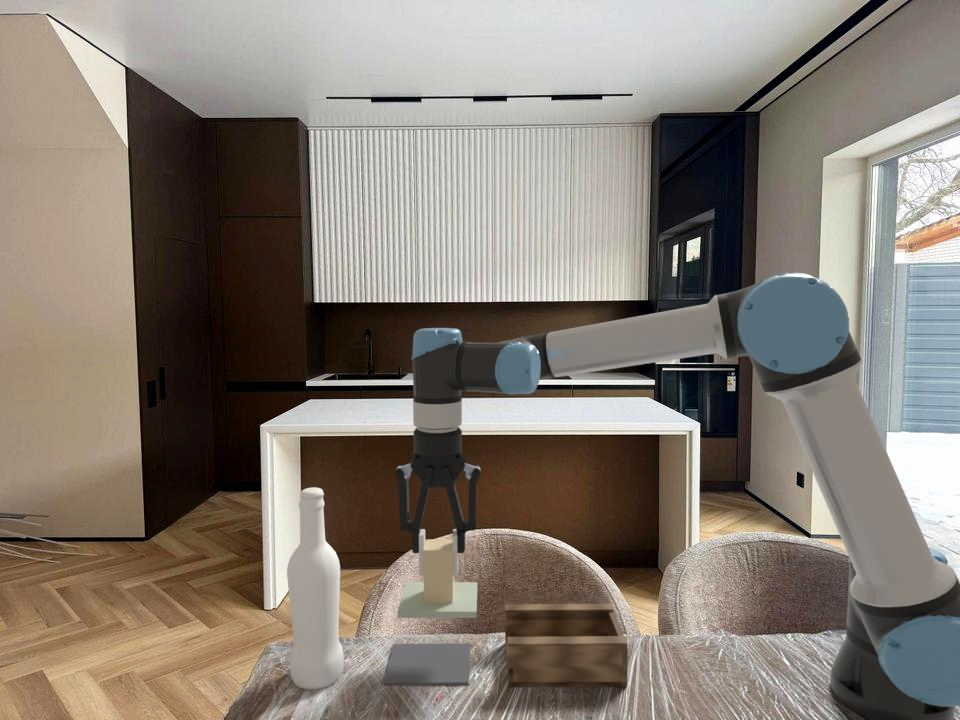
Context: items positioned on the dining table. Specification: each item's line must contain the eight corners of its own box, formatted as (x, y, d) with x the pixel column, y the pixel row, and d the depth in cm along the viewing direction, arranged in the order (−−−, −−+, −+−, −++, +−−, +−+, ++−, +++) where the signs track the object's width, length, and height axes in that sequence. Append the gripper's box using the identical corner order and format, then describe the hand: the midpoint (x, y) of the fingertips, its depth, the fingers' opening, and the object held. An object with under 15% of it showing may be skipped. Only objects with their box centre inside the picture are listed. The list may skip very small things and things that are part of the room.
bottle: (281, 675, 100) (273, 489, 97) (328, 655, 105) (322, 478, 102) (305, 699, 94) (298, 501, 91) (353, 677, 99) (348, 489, 96)
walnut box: (610, 642, 108) (611, 603, 108) (627, 686, 96) (627, 643, 95) (505, 643, 108) (505, 604, 108) (508, 687, 96) (507, 643, 95)
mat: (470, 645, 108) (470, 643, 108) (468, 684, 97) (468, 682, 97) (393, 646, 108) (393, 643, 108) (383, 685, 97) (383, 682, 97)
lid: (477, 587, 107) (477, 533, 106) (476, 617, 97) (476, 557, 96) (406, 587, 107) (405, 533, 106) (397, 617, 97) (396, 557, 96)
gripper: (493, 422, 102) (493, 562, 105) (385, 422, 103) (387, 561, 105) (494, 432, 95) (494, 582, 97) (377, 432, 95) (379, 582, 97)
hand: (438, 571), depth 101 cm, fingers closed on lid, 4 cm apart
